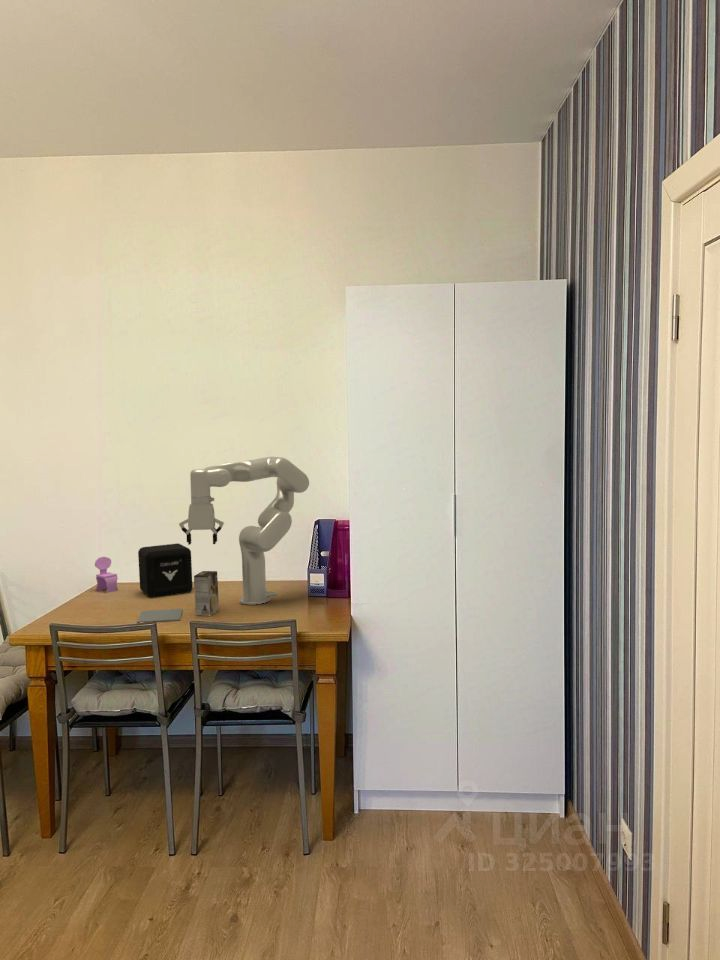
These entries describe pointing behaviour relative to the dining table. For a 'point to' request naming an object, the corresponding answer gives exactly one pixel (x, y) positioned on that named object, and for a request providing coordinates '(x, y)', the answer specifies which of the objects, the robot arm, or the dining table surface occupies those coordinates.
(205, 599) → the coffee box
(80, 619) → the dining table surface
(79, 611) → the dining table surface
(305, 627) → the dining table surface
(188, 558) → the black rounded block
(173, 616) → the slate mat
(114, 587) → the toy chair
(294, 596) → the dining table surface
